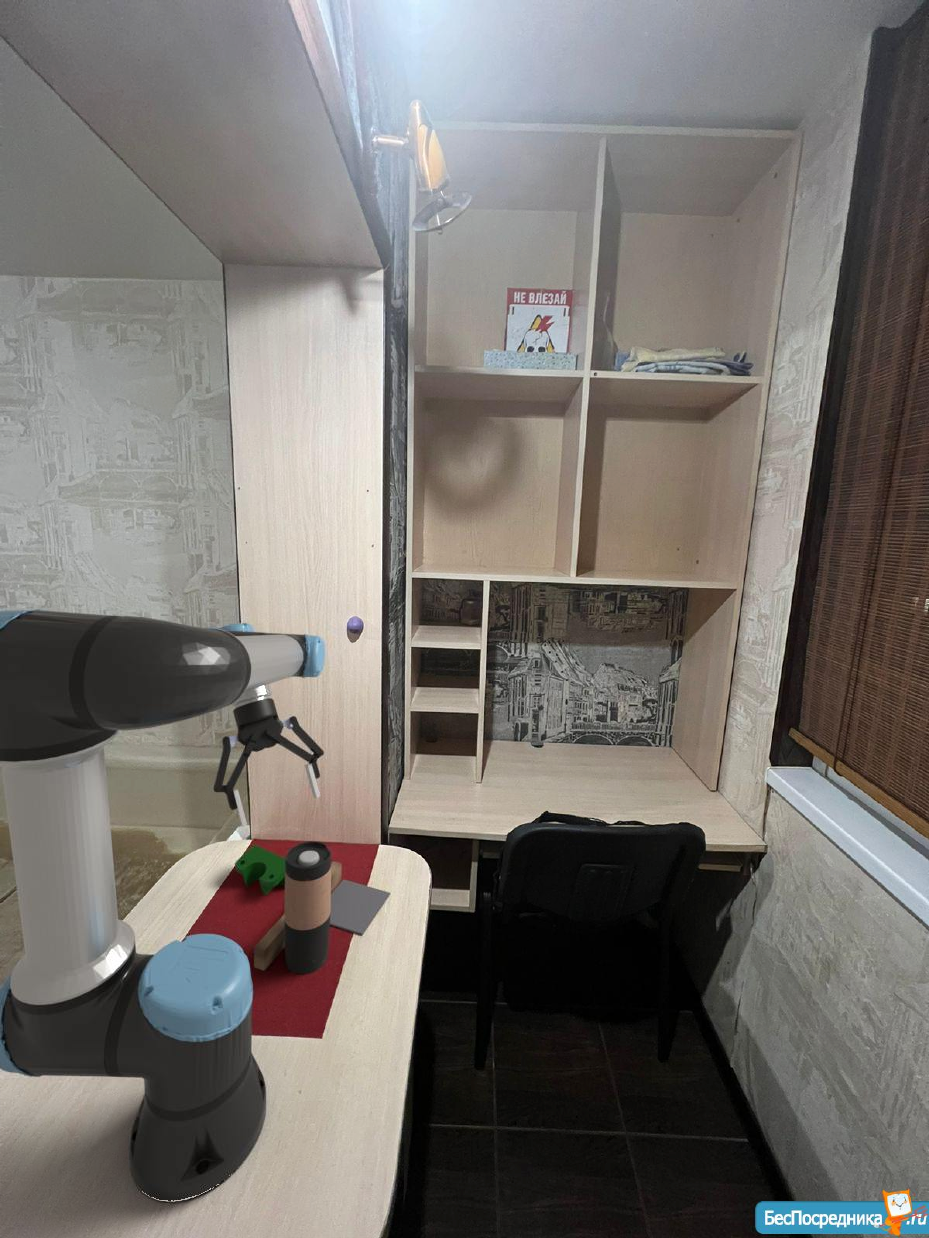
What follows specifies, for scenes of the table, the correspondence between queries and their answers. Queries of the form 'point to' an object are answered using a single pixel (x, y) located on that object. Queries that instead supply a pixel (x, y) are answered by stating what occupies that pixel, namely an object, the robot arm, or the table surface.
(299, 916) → the travel mug
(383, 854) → the table surface
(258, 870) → the clamp
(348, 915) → the end mat
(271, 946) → the rail
